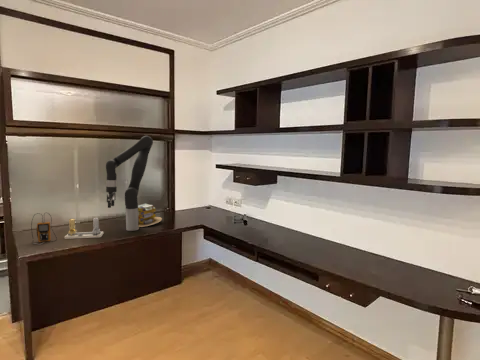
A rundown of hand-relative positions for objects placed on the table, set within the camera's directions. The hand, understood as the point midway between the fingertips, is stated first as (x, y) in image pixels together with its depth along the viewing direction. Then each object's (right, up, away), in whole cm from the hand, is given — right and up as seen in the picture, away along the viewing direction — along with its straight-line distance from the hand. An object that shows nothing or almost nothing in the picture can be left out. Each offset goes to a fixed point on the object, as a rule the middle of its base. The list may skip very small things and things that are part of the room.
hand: (111, 206), depth 250 cm
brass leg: (-22, -19, -16) cm, 33 cm away
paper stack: (+20, -17, +25) cm, 36 cm away
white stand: (-14, -20, -13) cm, 28 cm away
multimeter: (-34, -22, -29) cm, 50 cm away
